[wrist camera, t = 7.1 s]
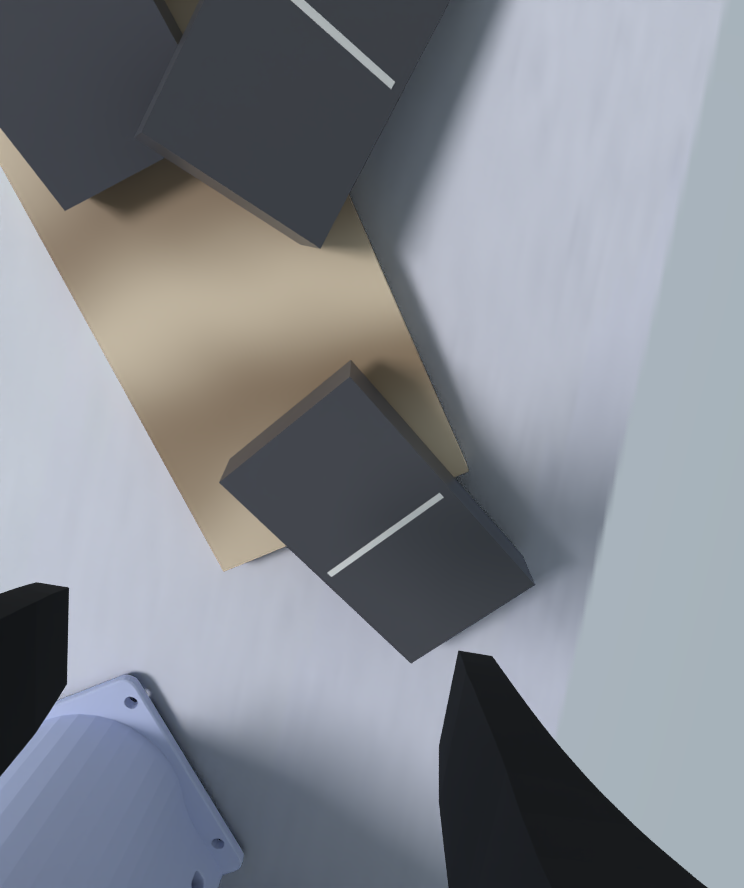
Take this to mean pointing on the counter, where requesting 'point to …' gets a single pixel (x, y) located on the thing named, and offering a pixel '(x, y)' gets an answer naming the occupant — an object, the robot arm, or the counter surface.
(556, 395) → the counter surface
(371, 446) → the domino
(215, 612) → the counter surface
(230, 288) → the board
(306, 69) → the domino
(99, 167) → the domino
